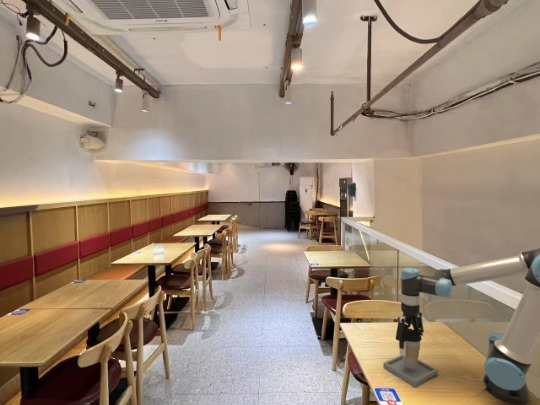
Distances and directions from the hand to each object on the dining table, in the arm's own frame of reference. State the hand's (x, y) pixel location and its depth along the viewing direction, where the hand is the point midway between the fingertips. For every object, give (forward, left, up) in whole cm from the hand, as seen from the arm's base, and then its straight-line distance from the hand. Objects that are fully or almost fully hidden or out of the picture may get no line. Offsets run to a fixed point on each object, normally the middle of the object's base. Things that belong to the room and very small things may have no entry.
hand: (409, 351), depth 134 cm
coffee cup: (0, 0, -6) cm, 6 cm away
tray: (0, 0, -9) cm, 9 cm away
